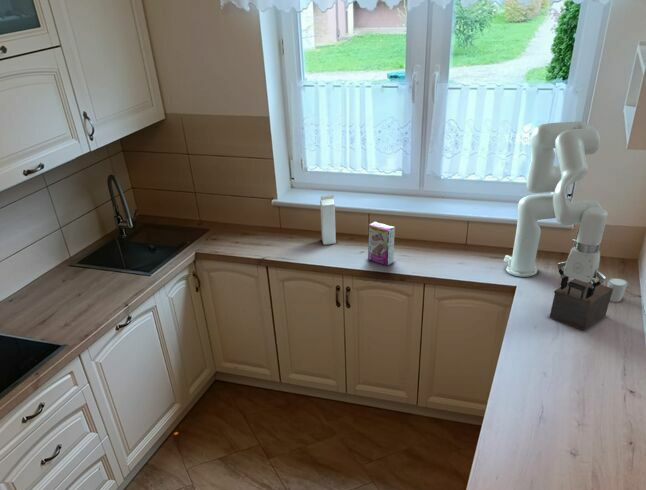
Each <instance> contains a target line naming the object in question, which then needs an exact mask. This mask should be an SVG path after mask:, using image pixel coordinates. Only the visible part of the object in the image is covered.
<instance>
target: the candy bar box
mask: <svg viewBox="0 0 646 490" xmlns="http://www.w3.org/2000/svg"><path fill="white" fill-rule="evenodd" d="M367 229H368V237H367V238H368V239H367V240H368V244H367V246H368V247H367V251H368V252H367V260H368V261H372V262H375V263H378V264H382V265H384V266H389V265H391V264H393V263H394V261H395V235H396V227H395V226H392V225H388V224H385V223H381V222H377V221H373V222H371V223H369V224H368V228H367Z"/></svg>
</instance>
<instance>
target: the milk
mask: <svg viewBox="0 0 646 490" xmlns="http://www.w3.org/2000/svg"><path fill="white" fill-rule="evenodd" d="M319 205H320V229H321V241H322V244H323V245H332V244H333V245H334V244H336V243H337V239H336V238H337V237H336V204H335V197H334V195H322V196H320V201H319Z"/></svg>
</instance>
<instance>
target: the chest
mask: <svg viewBox="0 0 646 490" xmlns="http://www.w3.org/2000/svg"><path fill="white" fill-rule="evenodd" d="M611 295H612V291H611V292H610V293H608V294H607V295H605V296H604V297H602V298H600V299H599V300H597V301H596V302H594V303H593V304H591V305H587V304H584V303H581V302H579V301H576V300H573V299H570V298H567V297H565V296H562V295H559V294H556V293H554V295H553V300H552V304H551V308H550V313H549V318H550V319H552V320H555V321H557V322H560V323H562V324H565V325H568V326H571V327H573V328H576V329H578V330H581V331H583V332H584V331H586V330H588V329H589V328H590V327H593V325H595V324H596V323H598V322H600V321H601V320H602V319H604V318H605V317H606V315H607V313H608V308H609V306H610V305H609V304H610V302H611V301H610V298H611Z"/></svg>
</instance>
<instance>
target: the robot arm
mask: <svg viewBox="0 0 646 490" xmlns="http://www.w3.org/2000/svg"><path fill="white" fill-rule="evenodd" d="M600 146H601V136H600V133H599V131H598V130H597V128H595V127H593V126H592V125H591V124H590V125H589V124H588V123H586V122H584V121H578V120H575V121H561V122H547V123H541V124H538V125H536V127H534V129H533V131H532V133H531V136H530V148H531V149H530V150H531V157H530V162H529V165H528V166H529V167H528V171H527V178H526V189H527V191H528V192H529V193H531V194H529V195H526V196H524V197H522V198H521V199H519V201H518V204H517V223H516V231H515V236H514V243H513V249H512V255H511V256H510V255H509V254H505V256H504V259H503V262H505V263H507V265H506V268H505V270H506V272H507V273H508V274H510V275H512V276H516V277H522V278H526V277H532V276H534V275H536V274H537V273H538V266H536V265H535V264H536V260H537V255H538V249H539V243H540V239H541V234H542V230H541V226H540V225H539V224H538V221H541V220H550V219H551V220H552V219H556V221H557V223H558V224H560V225H561V226H573V225H574V226H575V225H579V228H578V232H577V236H576V238H573V239H572V244H574V246H572V248H571V249H570V252H569V254H568V256H567V259H566V261H561V262H558V263H557V269H558V274H559V275H560V279H561V280H560V287H561V288H560V287H559V288H560V289H564V288H566V287H567V284H568V282H569V279H570V278H571V279H572V280H573V279H576V280H579V281H582V282H588V284H589V286H590V287H589V288H588V290H587V294H586V298H587V299H588V298H589V297H591V296H593V294H594V290H595V287H596V286H598V285H600V284H601V285H602V283H604V281H606V279H607V277H606V276H605V274H603V273H602V272H601V271H600V270H599V268H600V262H601V251H600V247H601V243H602V241H603V240H602V239H603V235H604V231H605V227H606V224H607V220H608V216H609V213H608V211H607V210H606V209H604V208H603V207H602V206H601V204H600V202H598V200H595V199H588V200H585V199H584V200H573V201H572V200H571V201H568V200H567V197H568V193H569V188H570V186H571V185H573V184H574V183H576V182H579V181H580V180H582V179H583V178H584V177H586V176H587V174H588V173H589V166H588V160H587V157H586V156H588V155H593V154H595V153H597V152H598V151H599V149H600ZM554 149H555V150H554ZM555 151H556V152H555ZM556 156H557V162H558V165H557V164H556V165H554V164H555V161H556V160H555V159H556ZM532 193H533V194H532ZM596 278H597V279H598V280H597V279H596Z"/></svg>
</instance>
